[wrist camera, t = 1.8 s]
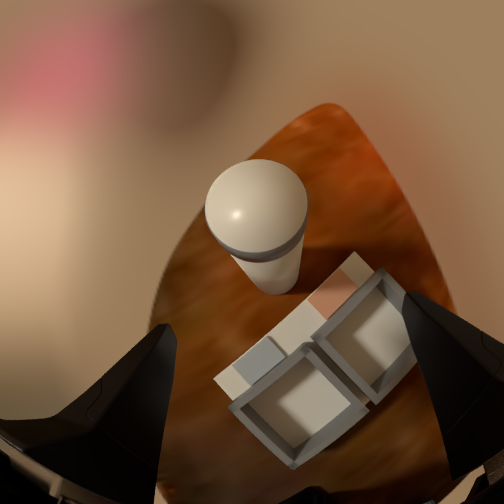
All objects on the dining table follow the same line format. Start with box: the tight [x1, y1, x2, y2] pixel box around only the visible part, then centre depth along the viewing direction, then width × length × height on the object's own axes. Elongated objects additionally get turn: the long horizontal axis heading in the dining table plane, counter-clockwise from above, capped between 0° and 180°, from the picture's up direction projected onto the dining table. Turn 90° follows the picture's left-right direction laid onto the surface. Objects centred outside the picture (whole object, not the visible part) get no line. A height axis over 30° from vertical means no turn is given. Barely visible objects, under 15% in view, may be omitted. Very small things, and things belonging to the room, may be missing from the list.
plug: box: [205, 160, 309, 295], centre depth 17 cm, size 4×4×13 cm
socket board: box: [213, 251, 417, 470], centre depth 18 cm, size 15×10×4 cm, turn 131°
